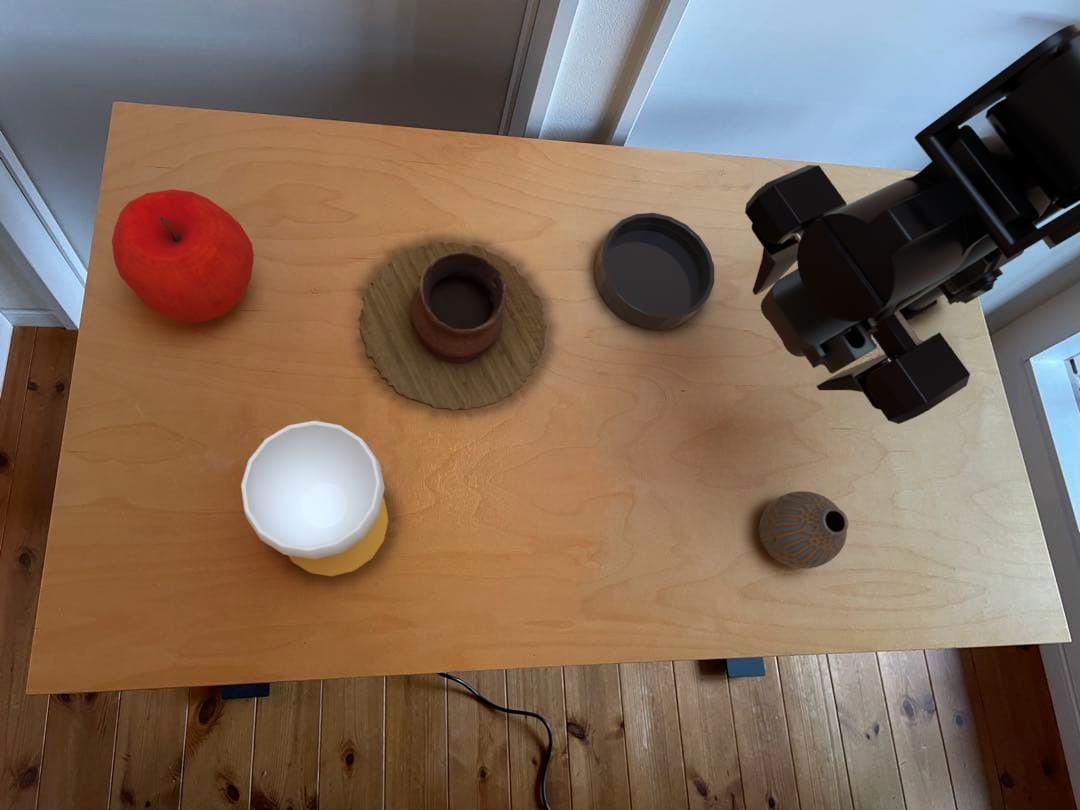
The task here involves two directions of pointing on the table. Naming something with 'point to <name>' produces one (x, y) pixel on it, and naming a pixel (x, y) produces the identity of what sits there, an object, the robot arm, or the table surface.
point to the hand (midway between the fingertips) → (789, 338)
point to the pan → (654, 271)
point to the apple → (182, 254)
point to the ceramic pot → (452, 325)
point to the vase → (803, 529)
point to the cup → (317, 497)
